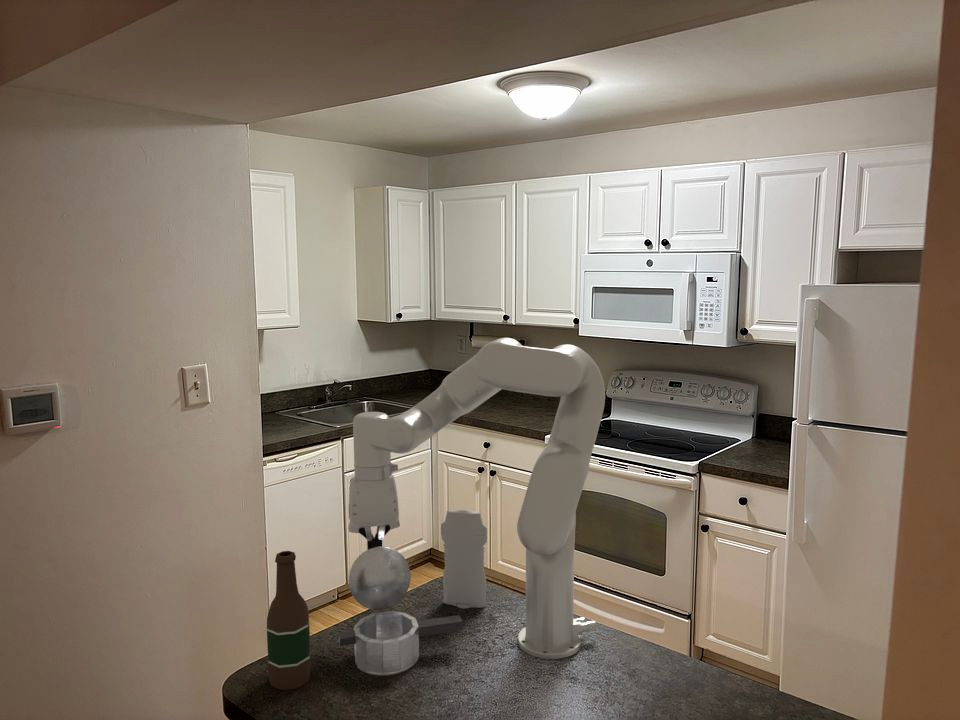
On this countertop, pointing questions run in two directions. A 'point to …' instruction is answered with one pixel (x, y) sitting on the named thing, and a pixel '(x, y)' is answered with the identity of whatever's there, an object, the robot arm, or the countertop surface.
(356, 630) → the pot
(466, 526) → the tall pale column
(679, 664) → the countertop surface
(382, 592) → the lid
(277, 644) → the beer bottle
